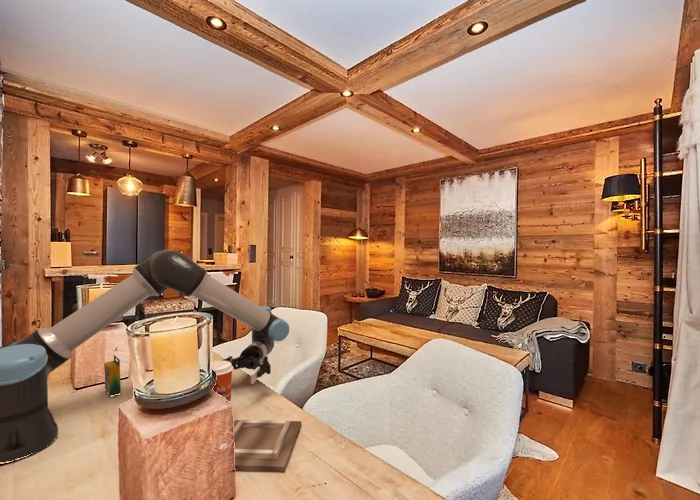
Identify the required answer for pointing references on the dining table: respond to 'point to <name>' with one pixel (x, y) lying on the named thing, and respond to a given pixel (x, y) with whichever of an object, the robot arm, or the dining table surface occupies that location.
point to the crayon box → (112, 376)
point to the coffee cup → (223, 378)
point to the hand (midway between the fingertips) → (229, 379)
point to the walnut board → (264, 444)
